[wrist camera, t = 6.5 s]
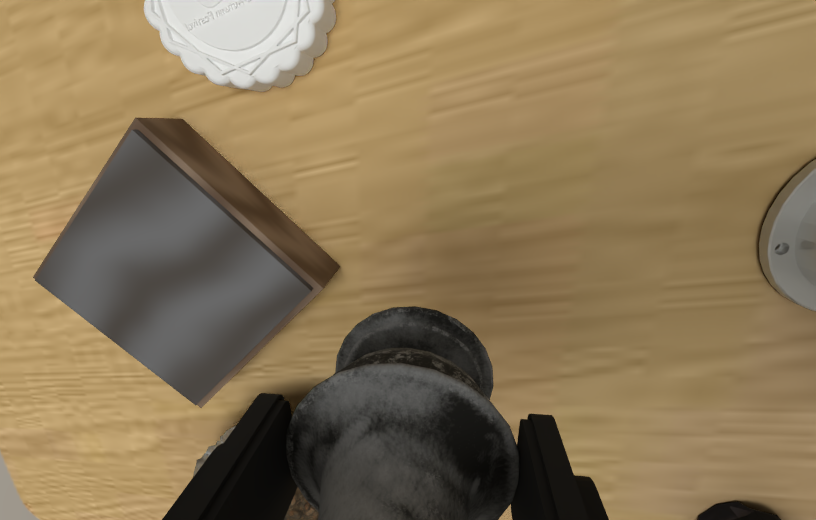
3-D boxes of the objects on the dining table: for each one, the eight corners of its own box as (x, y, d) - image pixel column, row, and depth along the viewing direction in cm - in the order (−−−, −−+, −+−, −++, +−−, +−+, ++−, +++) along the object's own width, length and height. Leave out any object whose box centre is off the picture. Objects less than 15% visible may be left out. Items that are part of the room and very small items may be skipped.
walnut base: (340, 266, 31) (321, 291, 26) (230, 374, 36) (197, 412, 31) (181, 118, 28) (129, 117, 24) (85, 257, 33) (26, 279, 28)
